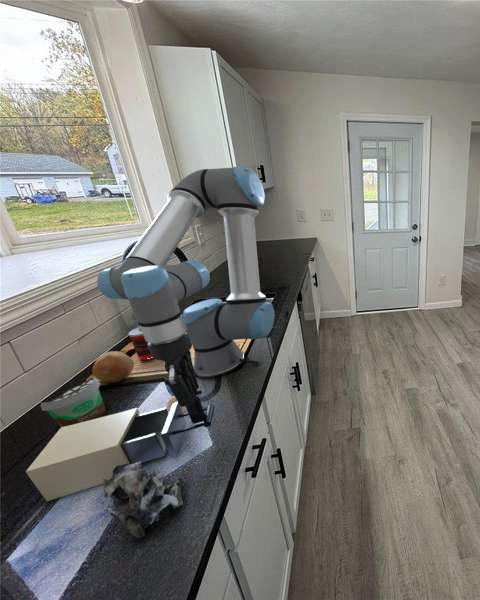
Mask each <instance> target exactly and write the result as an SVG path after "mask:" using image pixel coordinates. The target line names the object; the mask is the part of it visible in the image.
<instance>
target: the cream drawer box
mask: <svg viewBox="0 0 480 600" xmlns="http://www.w3.org/2000/svg"><path fill="white" fill-rule="evenodd" d="M139 414H141V413H140V410H139V409H138V407H136V408H132V409H128V410H124V411H119V412H117V413H116V412H115V413H113V414H108V415H103V416H101V417H100V418H97V419H93V420H89V421H85V422H81V423H77V424H74V425H70V426H66V427H62V428H61V427H60V428H59V429H58V431H57V432H56V433H55V434H54V436H52V438H51V439H50V440H49V442H48V443H47V445H46V446H45V447H44V448H43V449H42V450H41V452H40V453H39V454H38V455H37V457H36V458H35V459H34V461H33V462H32V463H31V464H30V465H29V466H28V468H27V469H26V470H25V473H26V474H27V476H28V478H29V479H30V480H31V481H32V483H33V484H34V486H35V487H36V489H37V490H38V491H39V493H40V494H41V496H42V497H43V498H44V500H45V501H46V502H49V501H52V500H56V499H59V498H62V497H65V496H69V495H72V494H75V493H78V492H81V491H84V490H87V489H90V488H93V487H96V486H100V485H103V484H104V480H103V479H105V480H110V479H111V478H112V476H113V470H114V469H115V468H116V466H120V465H124V464H128V463H129V461H128V459H127V458H126V456H125V454H124V452H123V450H122V448H121V446H120V445H121V443H122V441H123V439H124V437H125V435H126V433H127V431H128V429H129V427H130V426H131V424H132V422H133V420H134V418H135V416H136V415H139ZM129 465H130V464H129ZM126 466H127V465H126Z"/></svg>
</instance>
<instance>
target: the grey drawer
mask: <svg viewBox="0 0 480 600" xmlns="http://www.w3.org/2000/svg"><path fill="white" fill-rule="evenodd" d="M203 410H204V412H205V419H204V421H203V422H199V423H196V424H192V425H189V426H187V420H186V417H189V414H188V411H187V412H182V410H181V407H180V405H179V403H178V402H176V403H173V404H172V407H171V409H170V412H169V411H168V409H167V406H165V407H162V408H158V409H155V410H150V411H146V412H144V413H140V414H139V415H136V416H135V418H134V420H133V422H132V424H131V426H130V427H129V429H128V431H127V433H126V435H125V437H124V439H123V441H122V443H121V445H120V446H121V448H122V450H123V452H124V454H125V456H126V458H127V459H128V461H129V463H132V462H135V463H137V461H138V462H140V461H141V460H142V461H141V464H142V463H146V462H149V461H153V460H156V459H159V458H162V457H165V455H166V453H167V452H168V454H169V456H170V457H171V458H172V457H175V456H177V455H178V453H179V449H180V445H181V443H182V439H183V436H184V433H185V432H188V431H192V430H195V429H199V428H201V427H204V428H209V427H211V425H212V422H213V416H214V413H215V412H214V411H215V404H214V403H210V404H207V406H205V407H203ZM186 426H187V427H186ZM132 464H134V463H132ZM130 465H131V464H130Z"/></svg>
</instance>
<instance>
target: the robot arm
mask: <svg viewBox="0 0 480 600" xmlns="http://www.w3.org/2000/svg"><path fill="white" fill-rule="evenodd" d="M166 199H167V202H166V204H165V205H164V206H163V208H162V209H161V211H159V213H158V214H157V215H156V217H155V218H154V220H153V221H152V222H151V223H150V225H149V226H148V228H146V230H145V232H144V233H143V234H142V236H141V237H140V238H139V240H138V241H137V242H136V243H135V245H134V246H133V248H132V249H131V250H130V252H128V254H127V256H126V257H125V258H124V260H123V261H122V262H121V263H120V265H119V266H118V267H117V266H112V267H110V268H105V269H103V270H102V271H100V272H99V274H98V276H97V279H96V285H97V288H98V290H99V292H100V293H101V294H102V295H103V296H105V298H108V299H113V300H128V302H129V305H130V307H131V309H132V312H133V314H134V316H135V318H136V321H137V323H138V326H139V331H140V332H141V331H142V333H143V335H144V338H145V340H146V342H148V345H147V346H148V348H149V351H150V353H151V355H152V357H153V360H155V361H161V362H164V365H163V366H164V367H163V368H164V370H165V372H166V373H167V374H168V377H165V378H164V384H165V385H167V386H168V388H169V389H170V391H171V393H172V394H173V396H175V398H176V399H177V401H178V403H179V405H180V406H181V407H184V406H186V411H187V412H188V414H189V415H188V417H189V418H190V421H191V424H192V425H197V424H200V423H204V419H205V415H206V411H204V410H203V408H204V407H203V405H202V401H201V399H200V396H199V395H202V389H201V390H198V389H199V388H200V386H199V383H198V379H197V377H198V378H202V379H213V378H218V377H221V376H225V375H227V374H229V373H233V372H234V371H236V370H237V369H238V368H239V367H240V366H242V365H243V364H244V363H248V364H254V365H258V364H259V361H258V360H252V359H248V358H247V359H246V358H245V354H244V352H243V350H242V349H241V348H240V347H239V345H238V344H237V343H236V341H235V340H256V339H264V338H265V337H267V336H268V335H269V334H270V333H271V331H272V329H273V327H274V322H275V308H274V306H273V304H272V303H271V302H268V301H267V297H266V295H265V294H263V293H262V291H261V285H260V283H261V282H260V272H259V271H260V270H259V261H258V250H257V238H256V225H255V218H256V217H257V216H258V215H259V210H260V209H259V207H262V206H264V204H265V201H266V195H265V190H264V186H263V183H262V181H261V179H260V178H259V176H258V174H257V173H256V171H254V170H253V169H252V168H250V167H247V166H246V167H245V166H243V167H241V166H234V167H221V168H219V167H218V168H203V169H199V170H196V171H193V172H191V173H190V174H187V175H186V176H184V177H183V178H182V179H181V180H179V182H178V183H176V184H175V185H174V186H173V187H172V189H171V190H170V191H169V193H168V194H167V196H166ZM212 209H216V210H217V212H218V214H220V215H221V216H222V217H223V222H224V224H223V225H224V233H225V235H224V236H225V244H226V246H225V247H226V256H227V257H226V258H227V265H228V266H227V267H228V277H229V288H230V294H229V295H228V296H227V297H226V299H225V303H226V304H224V301H223V300H222V299H221V298H208V299H206V300H202V301H199V302H196V303H194V304H191V305H189V306H187V308H185V309H184V310H183V312H181V310H180V306H179V303H180V302H182V301H183V300H186V299H187V298H189V297H190V296H192V295H194V294H196V293H199V292H200V291H202V289H204V288H205V287H207V286H208V285H209V282H210V281H211V280H210V278H211V276H210V275H211V274H210V272H209V269H208V268H207V267H206V266H205V265H204V264H203V263H201V262H200V261H197V260H193V259H191V260H185V261H181V262H179V263H176V264H167V263H168V262H169V261H170V258H171V257H172V256H173V254H174V252H175V251H176V249H177V248H178V246H179V244H180V243H181V242H182V240H183V238H184V237H185V235H186V233H188V231H189V229H190V227H191V226H192V224H193V223H194V221H195V220H196V219H197V218H200V217H201V216H203V214H204V212H206V211H208V210H212ZM192 348H193V351H194V358H193V359H194V360H193V359H192V354H191V349H192Z"/></svg>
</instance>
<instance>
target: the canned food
mask: <svg viewBox="0 0 480 600" xmlns="http://www.w3.org/2000/svg"><path fill="white" fill-rule="evenodd" d="M139 327H140V326H139ZM139 327H135V328H134V329H132V330H130V331H129V332H128V336H129V339H130V341H131V343H132V346H133V348H134V351H135V353H136V355H137V357H138V359H139V358H141V359H139V361H141V362H149V361H153V360H154V359H153V358H151V357H152V355H151V353H150V351H149V348H148V346H147V345H148V342H146V340H145V338H144V335H143V333H142V331H141V332H140V331H139ZM147 358H150V359H147Z"/></svg>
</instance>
